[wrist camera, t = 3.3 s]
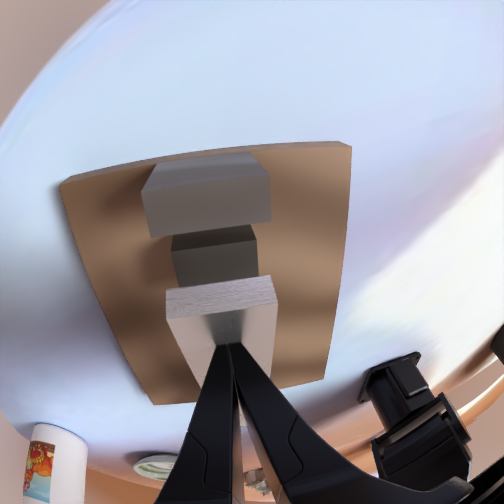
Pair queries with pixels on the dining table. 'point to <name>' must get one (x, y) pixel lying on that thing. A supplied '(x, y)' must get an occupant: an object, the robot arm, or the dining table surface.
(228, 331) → the bar
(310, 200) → the base
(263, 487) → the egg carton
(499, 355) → the mug
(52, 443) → the milk bottle
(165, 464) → the saucer
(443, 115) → the dining table surface
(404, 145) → the dining table surface
